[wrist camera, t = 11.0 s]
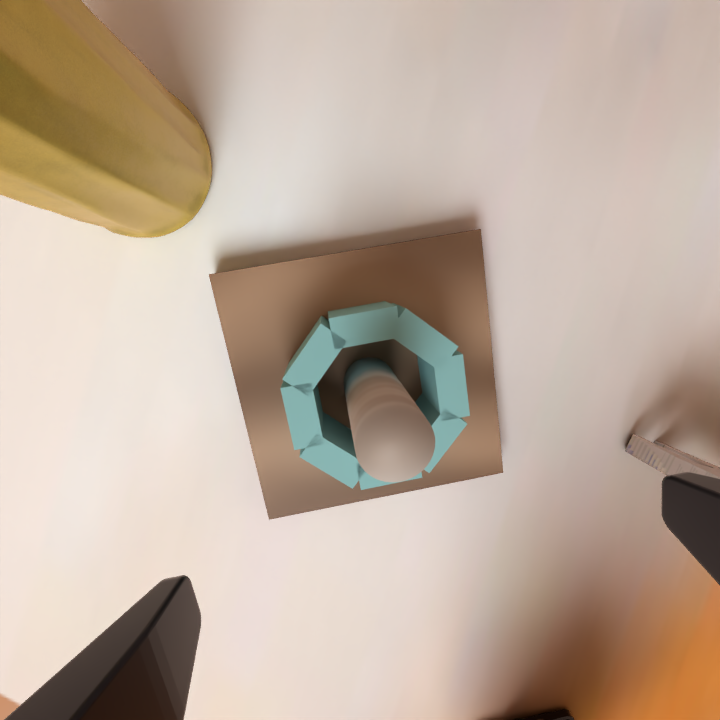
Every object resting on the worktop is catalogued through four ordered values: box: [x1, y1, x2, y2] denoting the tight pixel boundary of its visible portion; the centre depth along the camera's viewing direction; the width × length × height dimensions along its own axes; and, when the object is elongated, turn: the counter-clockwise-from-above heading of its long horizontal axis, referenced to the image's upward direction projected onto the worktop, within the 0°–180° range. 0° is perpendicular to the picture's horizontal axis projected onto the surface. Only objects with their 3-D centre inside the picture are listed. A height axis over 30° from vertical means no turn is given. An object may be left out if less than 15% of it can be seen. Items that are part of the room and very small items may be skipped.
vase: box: [0, 0, 212, 238], centre depth 10 cm, size 6×6×14 cm
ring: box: [280, 301, 470, 490], centre depth 17 cm, size 7×7×3 cm
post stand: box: [209, 229, 503, 519], centre depth 15 cm, size 12×12×8 cm
